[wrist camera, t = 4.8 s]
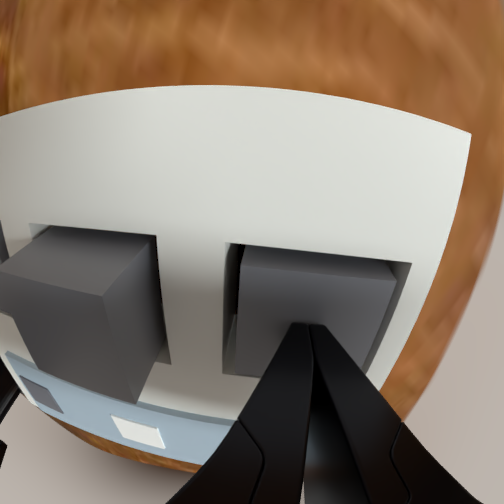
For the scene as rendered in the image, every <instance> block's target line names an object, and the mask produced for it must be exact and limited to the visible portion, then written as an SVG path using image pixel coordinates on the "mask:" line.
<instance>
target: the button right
mask: <svg viewBox="0 0 504 504" xmlns="http://www.w3.org/2000/svg"><path fill="white" fill-rule="evenodd" d="M396 282H397V281H396V279H395V278H394V276H393V274H392V272H391V271H390V269H389V267H388V266H387V264H386V262H385V261H384V259H375V258H366V257H357V256H348V255H339V254H330V253H321V252H312V251H303V250H294V249H285V248H276V247H266V246H257V245H247V244H246V247H245V251H244V254H243V258H242V262H241V267H240V284H239V300H238V317H237V334H236V352H235V371H234V373H236V374H244V375H252V376H262V375H263V374H264V372H265V370H266V368H267V366H268V365H269V363H270V361H271V359H272V358H273V356H274V354H275V352H276V350H277V349H278V347H279V345H280V343H281V341H282V339H283V338H284V336H285V334H286V332H287V330H288V328H289V326H290V324H291V323H293V322H297V323H306V324H308V325H309V324H322V325H325V326H326V327H327V328H328V329H329V330H330V332H331V333H332V334H333V335H334V337H335V338H336V339H337V340H338V341H339V343H340V344H341V345H342V346H343V348H344V349H345V350H346V351H347V353H348V354H349V355H350V356H351V357H352V359H353V360H354V361H355V362H356V364H357V365H358V366H359V367H360V369H361V368H362V366H363V363H364V361H365V359H366V357H367V355H368V352H369V350H370V348H371V346H372V343H373V341H374V339H375V336H376V334H377V332H378V329H379V327H380V324H381V322H382V319H383V317H384V314H385V312H386V309H387V307H388V304H389V301H390V299H391V296H392V293H393V290H394V288H395V285H396Z"/></svg>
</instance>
